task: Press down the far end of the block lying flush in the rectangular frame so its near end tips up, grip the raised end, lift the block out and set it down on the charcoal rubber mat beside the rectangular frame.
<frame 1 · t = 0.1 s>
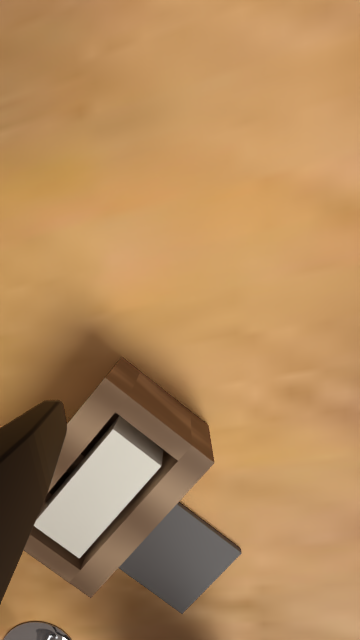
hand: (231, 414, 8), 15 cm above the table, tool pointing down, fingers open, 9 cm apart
block: (103, 476, 22), point 3 cm above the table, touching rectangular frame
mat: (175, 553, 26), on the table
rectangular frame: (113, 452, 25), on the table
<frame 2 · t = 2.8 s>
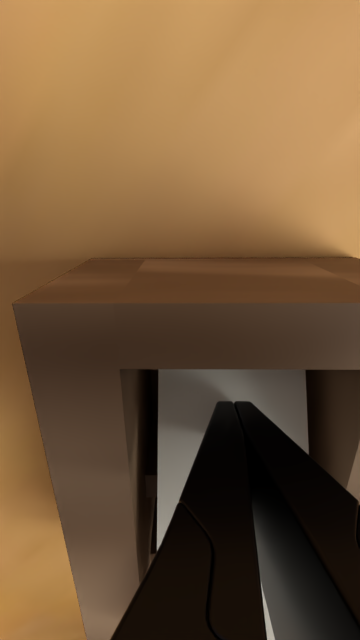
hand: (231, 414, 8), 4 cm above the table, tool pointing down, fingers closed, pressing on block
block: (224, 485, 10), point 3 cm above the table, tilted 27°, touching rectangular frame, gripper
rectangular frame: (214, 421, 13), on the table
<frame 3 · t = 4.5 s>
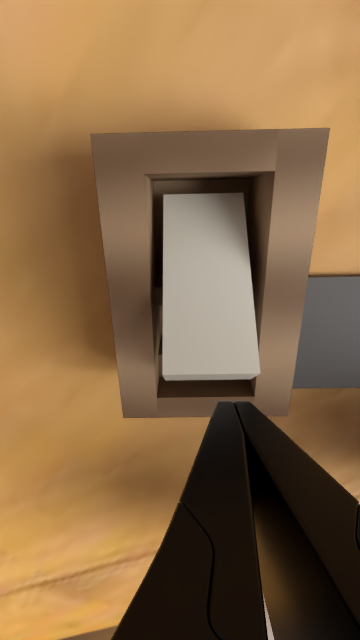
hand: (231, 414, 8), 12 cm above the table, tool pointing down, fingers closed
block: (204, 292, 15), point 3 cm above the table, tilted 40°, touching rectangular frame
mat: (350, 333, 20), on the table
rectangular frame: (200, 278, 18), on the table
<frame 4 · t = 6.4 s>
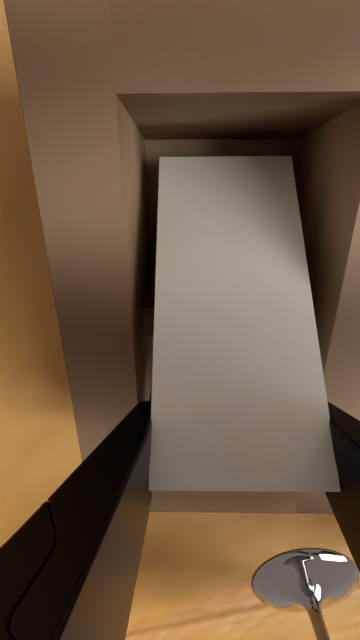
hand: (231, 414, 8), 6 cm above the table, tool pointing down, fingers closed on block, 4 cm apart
block: (223, 317, 9), point 3 cm above the table, tilted 40°, touching rectangular frame, gripper
wine glass: (304, 578, 20), on the table
rectangular frame: (213, 291, 12), on the table
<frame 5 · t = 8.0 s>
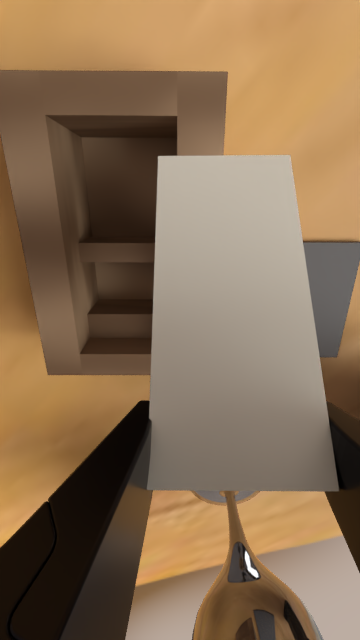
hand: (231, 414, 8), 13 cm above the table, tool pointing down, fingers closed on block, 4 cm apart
block: (221, 317, 9), point 10 cm above the table, tilted 41°, touching gripper
wine glass: (226, 475, 26), on the table
mat: (287, 302, 20), on the table
rectangular frame: (135, 241, 18), on the table
when the fingers open (9 cm above the table, at t = 9.3 s): block drops 7 cm, resting on mat.
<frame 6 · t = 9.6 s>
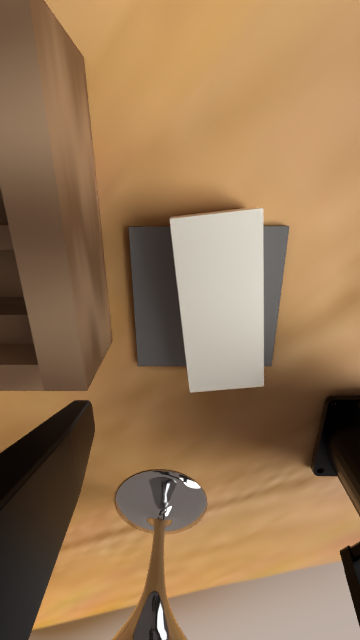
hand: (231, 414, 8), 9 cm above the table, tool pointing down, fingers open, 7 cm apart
block: (217, 299, 16), resting on mat
wine glass: (161, 501, 23), on the table
mat: (205, 300, 17), on the table
rectangular frame: (13, 227, 15), on the table
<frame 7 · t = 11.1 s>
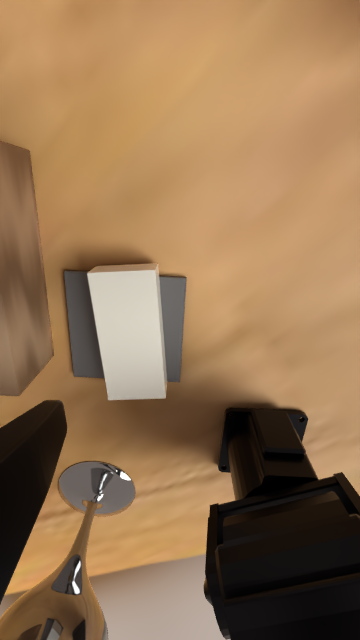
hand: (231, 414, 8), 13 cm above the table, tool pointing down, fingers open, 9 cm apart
block: (134, 328, 21), resting on mat
wine glass: (97, 488, 27), on the table
mat: (127, 328, 21), on the table
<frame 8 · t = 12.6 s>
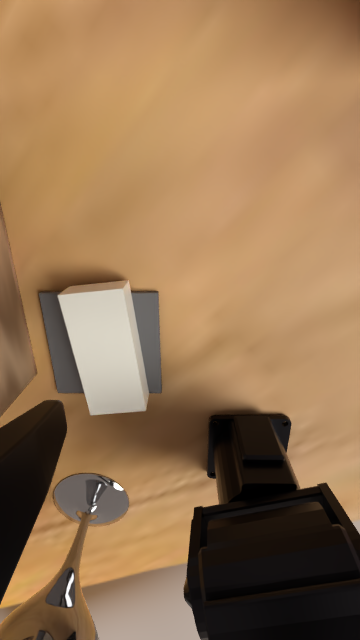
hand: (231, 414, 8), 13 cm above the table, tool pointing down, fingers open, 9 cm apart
block: (112, 344, 21), resting on mat
wine glass: (92, 498, 28), on the table
mat: (105, 344, 22), on the table
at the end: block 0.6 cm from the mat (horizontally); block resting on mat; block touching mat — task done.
